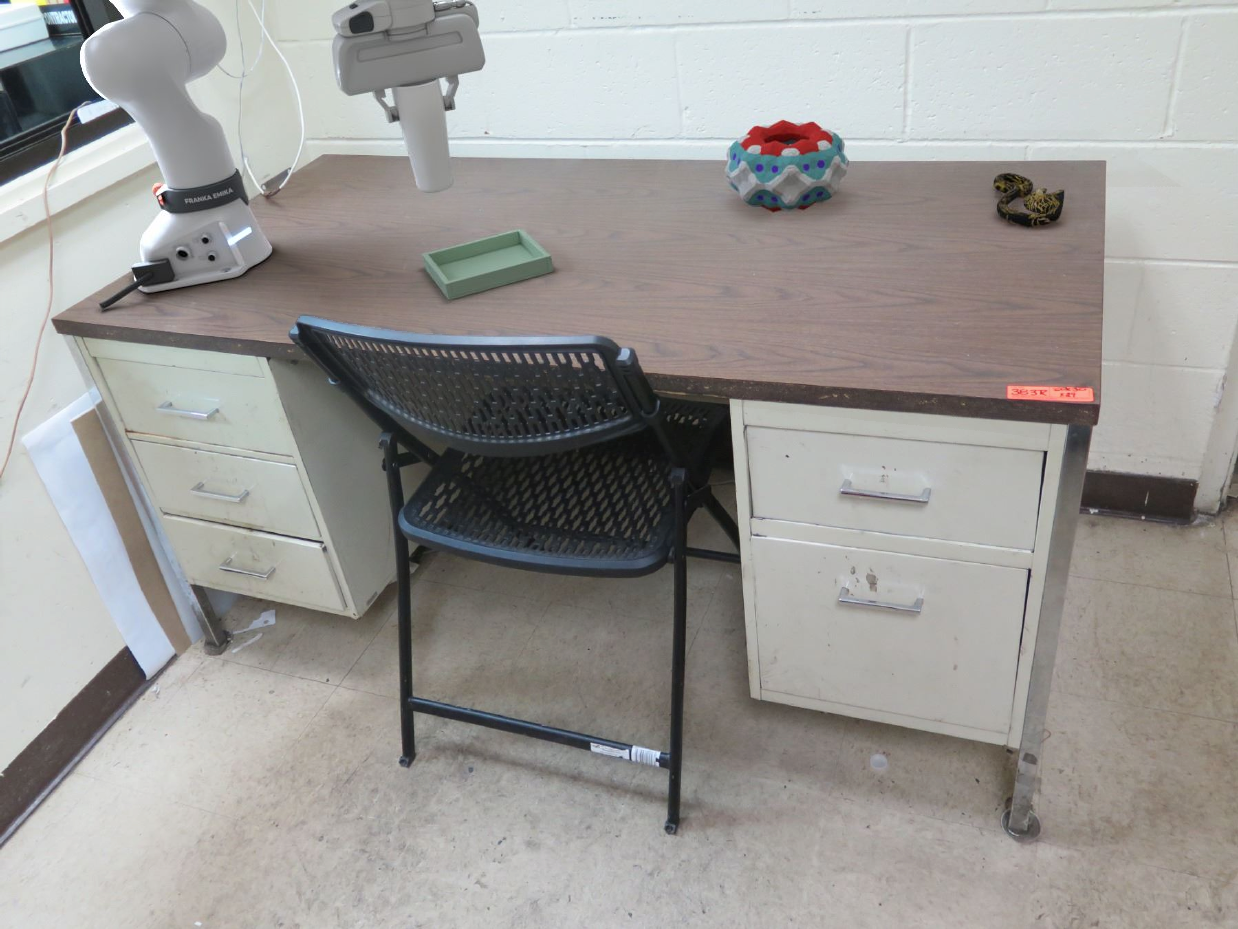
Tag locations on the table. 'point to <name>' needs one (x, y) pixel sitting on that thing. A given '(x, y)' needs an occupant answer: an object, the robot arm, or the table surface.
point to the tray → (487, 263)
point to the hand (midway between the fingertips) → (421, 115)
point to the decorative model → (786, 165)
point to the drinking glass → (425, 133)
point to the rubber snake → (1027, 201)
